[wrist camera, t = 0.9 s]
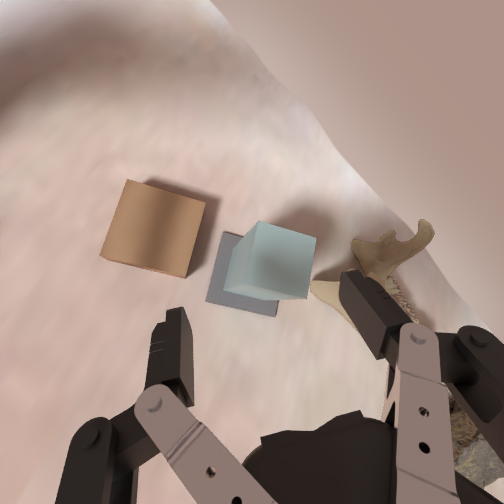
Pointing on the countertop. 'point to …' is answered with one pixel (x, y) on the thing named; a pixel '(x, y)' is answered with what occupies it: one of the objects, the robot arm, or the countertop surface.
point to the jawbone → (379, 267)
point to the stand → (153, 229)
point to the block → (271, 264)
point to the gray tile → (219, 277)
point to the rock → (473, 450)
